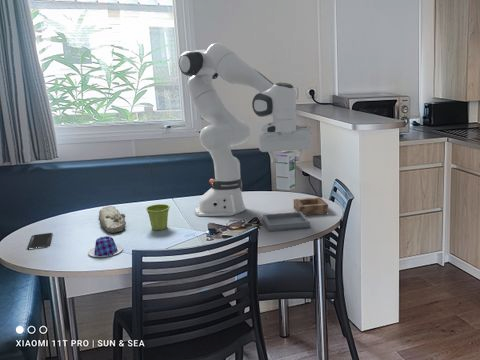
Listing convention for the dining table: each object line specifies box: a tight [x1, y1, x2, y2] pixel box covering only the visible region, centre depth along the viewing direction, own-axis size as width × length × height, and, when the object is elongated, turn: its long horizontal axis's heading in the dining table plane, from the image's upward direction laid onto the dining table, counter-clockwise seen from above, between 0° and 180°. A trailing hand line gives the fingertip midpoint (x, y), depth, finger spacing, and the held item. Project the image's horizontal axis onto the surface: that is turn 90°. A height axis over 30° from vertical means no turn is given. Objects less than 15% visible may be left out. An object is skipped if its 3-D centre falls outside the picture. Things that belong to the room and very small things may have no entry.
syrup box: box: [275, 150, 297, 191], centre depth 190 cm, size 6×6×14 cm
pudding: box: [88, 235, 124, 258], centre depth 173 cm, size 12×12×5 cm
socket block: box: [293, 196, 329, 216], centre depth 209 cm, size 12×12×4 cm
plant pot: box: [145, 203, 171, 231], centre depth 195 cm, size 9×9×9 cm
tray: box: [262, 211, 311, 232], centre depth 193 cm, size 16×14×2 cm
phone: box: [27, 232, 54, 249], centre depth 187 cm, size 8×1×15 cm
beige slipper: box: [98, 205, 127, 234], centre depth 208 cm, size 35×5×10 cm
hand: (285, 161), depth 189 cm, fingers closed on syrup box, 8 cm apart
